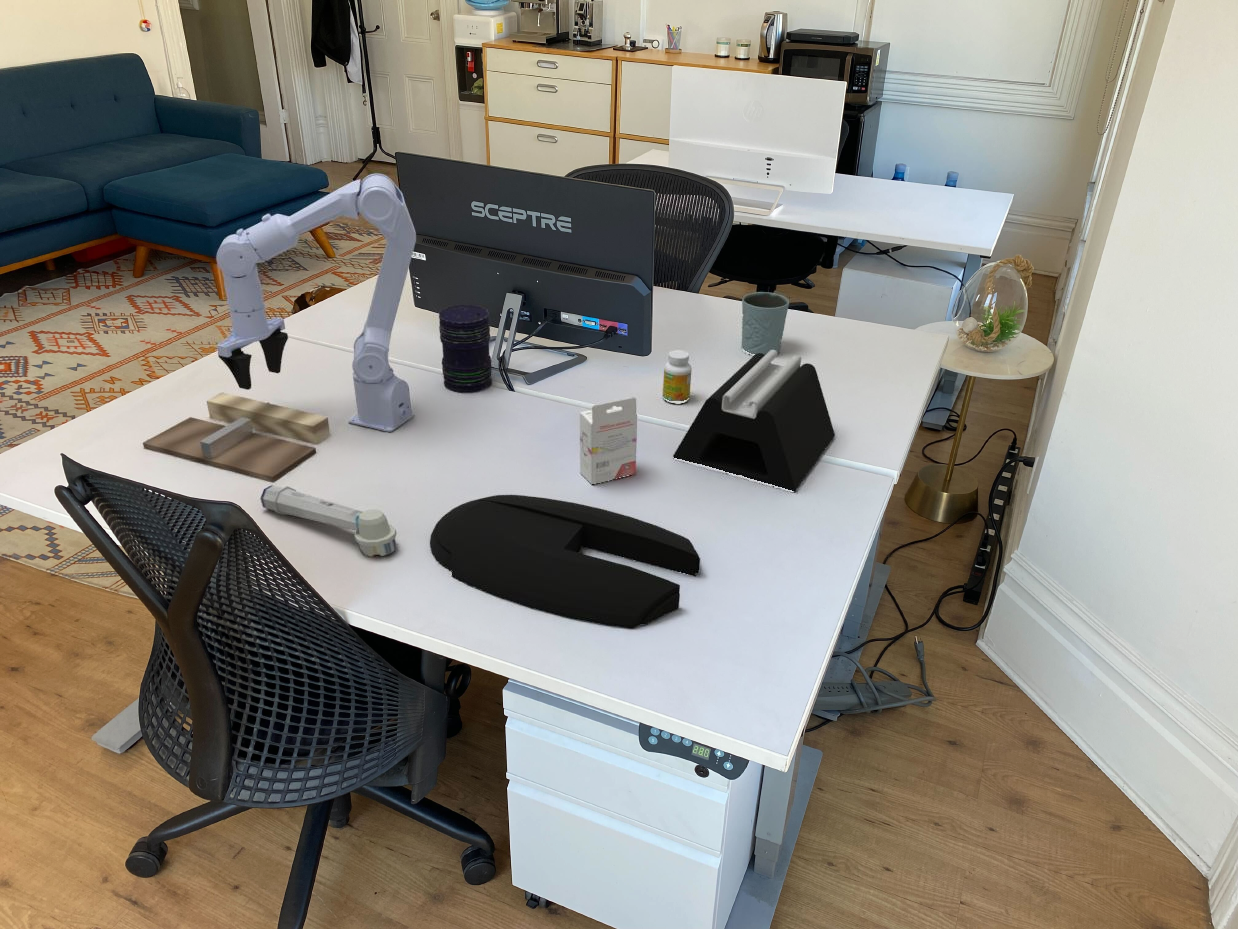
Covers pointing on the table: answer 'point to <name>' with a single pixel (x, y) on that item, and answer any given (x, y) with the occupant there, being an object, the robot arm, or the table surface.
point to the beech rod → (270, 418)
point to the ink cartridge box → (608, 440)
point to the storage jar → (465, 348)
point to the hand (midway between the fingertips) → (260, 379)
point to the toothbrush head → (335, 517)
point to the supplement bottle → (677, 376)
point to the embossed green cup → (763, 321)
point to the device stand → (762, 423)
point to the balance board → (232, 450)
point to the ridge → (226, 438)
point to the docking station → (563, 558)
